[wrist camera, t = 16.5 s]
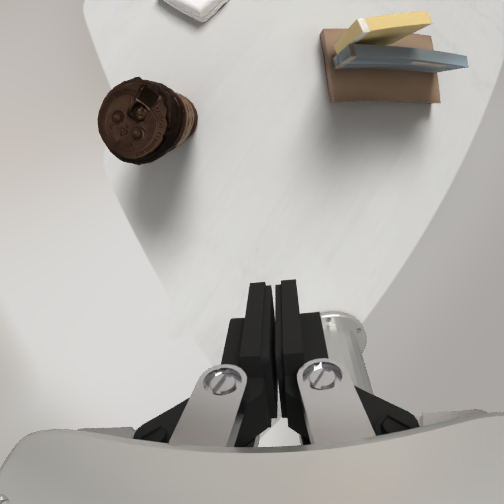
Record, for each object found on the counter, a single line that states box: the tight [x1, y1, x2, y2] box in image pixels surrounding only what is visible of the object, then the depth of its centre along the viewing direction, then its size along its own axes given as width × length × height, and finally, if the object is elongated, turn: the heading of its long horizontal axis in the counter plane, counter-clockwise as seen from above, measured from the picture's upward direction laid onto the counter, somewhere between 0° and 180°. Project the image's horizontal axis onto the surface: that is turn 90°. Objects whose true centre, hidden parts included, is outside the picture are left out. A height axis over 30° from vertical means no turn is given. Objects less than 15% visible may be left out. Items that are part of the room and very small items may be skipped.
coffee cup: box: [98, 77, 198, 165], centre depth 30 cm, size 9×8×13 cm
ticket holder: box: [320, 29, 468, 103], centre depth 26 cm, size 9×14×10 cm, turn 98°
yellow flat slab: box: [333, 11, 432, 54], centre depth 23 cm, size 1×7×10 cm, turn 111°
